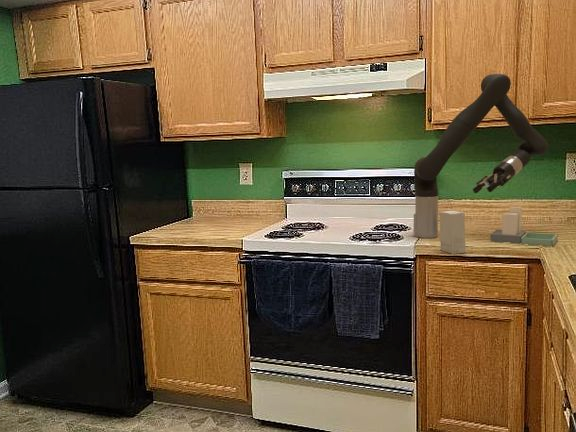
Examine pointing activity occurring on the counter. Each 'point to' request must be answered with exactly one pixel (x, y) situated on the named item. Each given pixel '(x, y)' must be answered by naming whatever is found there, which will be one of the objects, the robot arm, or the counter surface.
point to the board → (506, 237)
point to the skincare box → (452, 231)
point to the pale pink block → (510, 223)
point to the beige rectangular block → (519, 211)
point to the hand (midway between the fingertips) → (481, 191)
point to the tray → (539, 239)
